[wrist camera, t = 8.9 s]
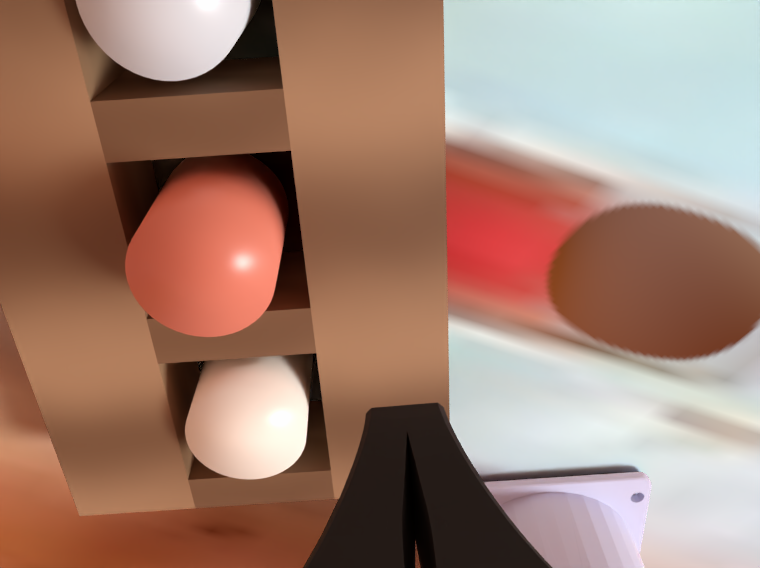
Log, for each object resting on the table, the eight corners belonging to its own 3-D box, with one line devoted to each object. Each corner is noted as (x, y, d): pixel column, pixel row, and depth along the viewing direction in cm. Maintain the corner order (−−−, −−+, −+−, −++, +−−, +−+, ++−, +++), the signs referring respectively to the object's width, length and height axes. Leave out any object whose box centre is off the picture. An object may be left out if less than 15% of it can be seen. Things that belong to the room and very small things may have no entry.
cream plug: (317, 394, 25) (312, 475, 22) (217, 401, 25) (197, 483, 22) (306, 309, 24) (299, 382, 20) (199, 316, 24) (173, 391, 20)
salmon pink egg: (295, 258, 21) (284, 332, 18) (176, 266, 21) (143, 341, 18) (280, 144, 20) (264, 201, 16) (151, 152, 20) (108, 212, 16)
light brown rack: (439, 420, 26) (450, 491, 23) (111, 442, 26) (79, 515, 23) (424, -206, 17) (440, -223, 14) (-86, -172, 17) (-180, -181, 14)
